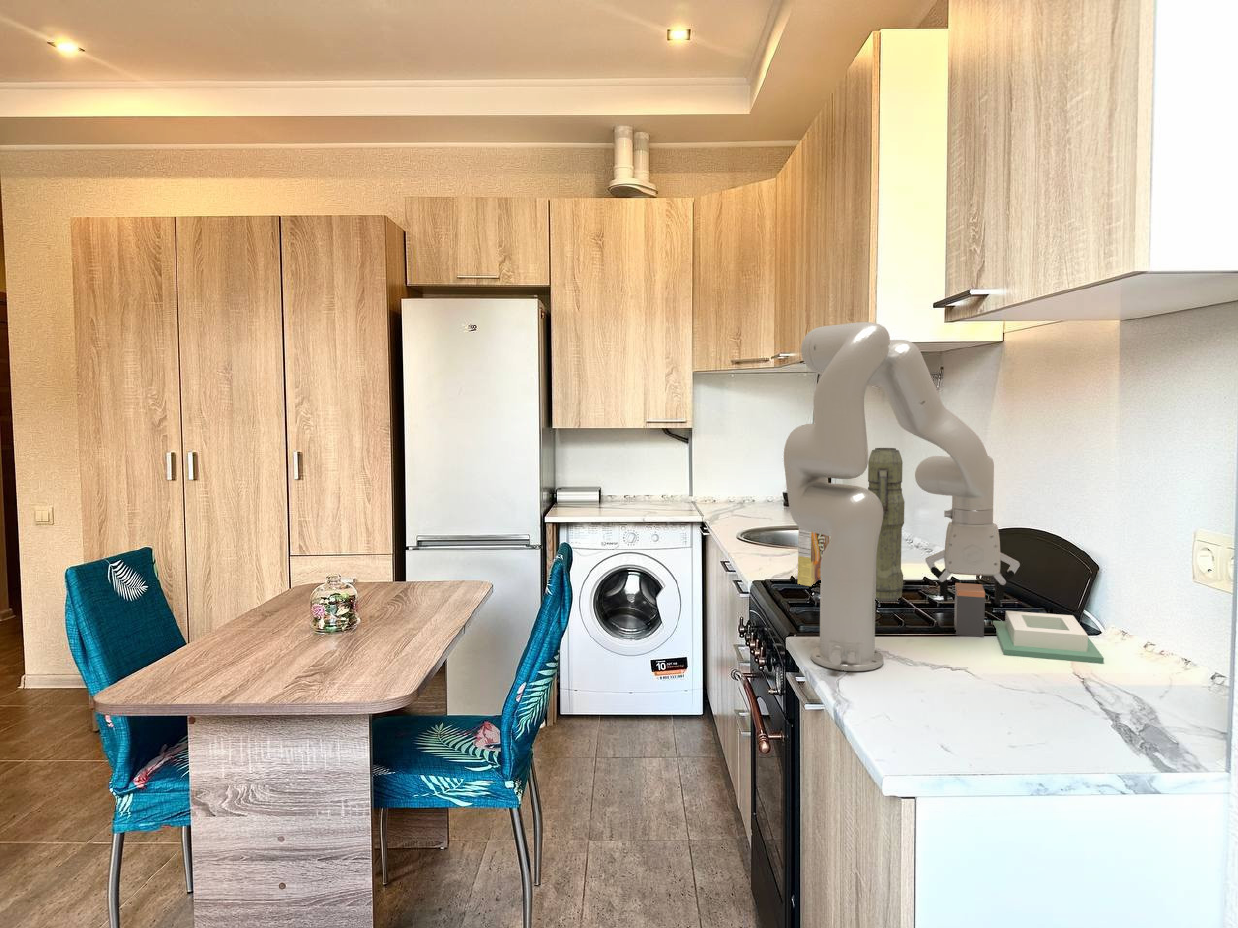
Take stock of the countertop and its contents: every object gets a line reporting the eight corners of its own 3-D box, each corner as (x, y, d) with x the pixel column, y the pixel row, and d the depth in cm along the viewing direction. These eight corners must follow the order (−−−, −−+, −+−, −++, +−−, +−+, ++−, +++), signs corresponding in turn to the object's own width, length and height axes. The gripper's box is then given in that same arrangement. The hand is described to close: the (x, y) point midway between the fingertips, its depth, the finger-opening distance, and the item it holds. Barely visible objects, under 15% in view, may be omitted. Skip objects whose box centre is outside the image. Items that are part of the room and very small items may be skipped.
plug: (983, 637, 161) (985, 592, 160) (956, 635, 162) (957, 590, 161) (980, 627, 167) (981, 584, 166) (954, 625, 169) (955, 582, 168)
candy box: (814, 578, 212) (815, 519, 211) (829, 580, 210) (830, 521, 208) (796, 584, 206) (797, 524, 205) (811, 587, 203) (812, 525, 202)
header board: (1103, 663, 145) (1104, 641, 144) (1003, 654, 150) (1004, 633, 150) (1080, 631, 163) (1081, 612, 163) (992, 625, 169) (993, 606, 168)
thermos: (901, 592, 197) (904, 447, 194) (903, 604, 186) (907, 450, 183) (863, 589, 200) (865, 446, 197) (863, 601, 188) (865, 449, 185)
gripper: (926, 518, 162) (925, 603, 164) (1023, 521, 156) (1021, 608, 158) (925, 512, 169) (924, 594, 171) (1017, 515, 163) (1016, 599, 165)
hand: (971, 601), depth 164 cm, fingers open, 9 cm apart
